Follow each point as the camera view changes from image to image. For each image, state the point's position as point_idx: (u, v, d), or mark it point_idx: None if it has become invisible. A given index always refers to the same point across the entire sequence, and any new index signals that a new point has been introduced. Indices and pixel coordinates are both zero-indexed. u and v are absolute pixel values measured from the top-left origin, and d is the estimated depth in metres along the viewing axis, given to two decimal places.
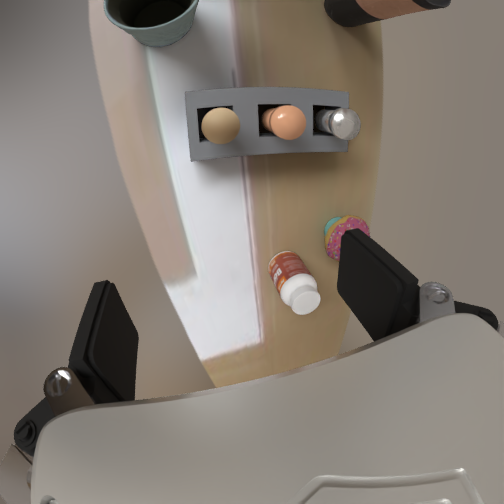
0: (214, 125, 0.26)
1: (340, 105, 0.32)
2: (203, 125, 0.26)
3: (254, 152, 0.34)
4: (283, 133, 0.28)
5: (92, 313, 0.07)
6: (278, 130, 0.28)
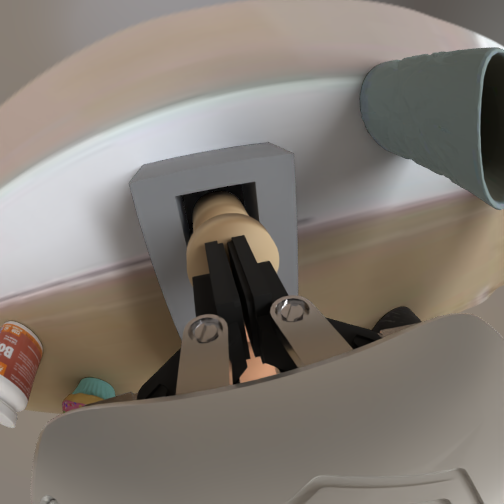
0: None
1: None
2: (233, 227, 0.11)
3: (170, 302, 0.17)
4: None
5: (220, 265, 0.09)
6: None
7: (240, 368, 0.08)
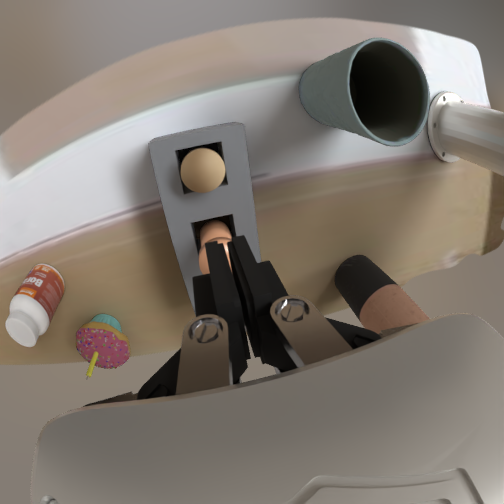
0: (203, 163, 0.23)
1: None
2: (202, 151, 0.22)
3: (169, 221, 0.27)
4: (206, 259, 0.24)
5: (220, 265, 0.09)
6: None
7: (241, 368, 0.08)
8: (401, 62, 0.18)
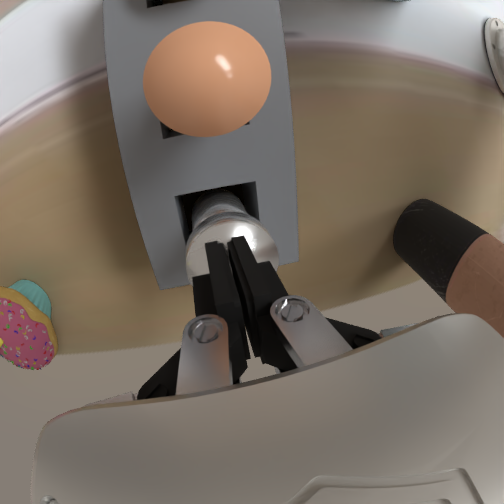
0: None
1: None
2: None
3: (111, 57, 0.09)
4: (165, 63, 0.06)
5: (220, 265, 0.09)
6: (175, 44, 0.06)
7: (240, 368, 0.08)
8: None
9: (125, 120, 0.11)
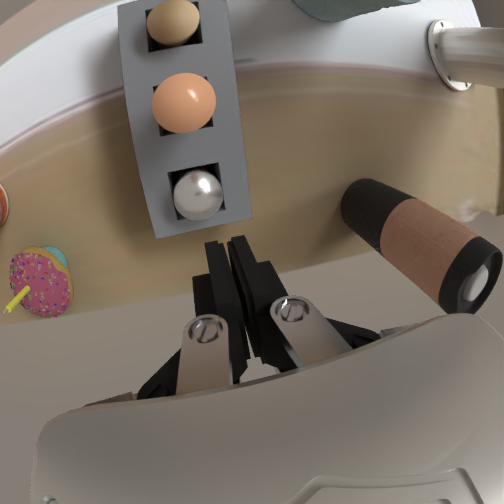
0: (174, 11, 0.13)
1: (227, 208, 0.24)
2: (174, 0, 0.13)
3: (127, 85, 0.17)
4: (162, 96, 0.14)
5: (220, 265, 0.09)
6: (167, 86, 0.14)
7: (240, 368, 0.08)
8: None
9: (137, 125, 0.19)
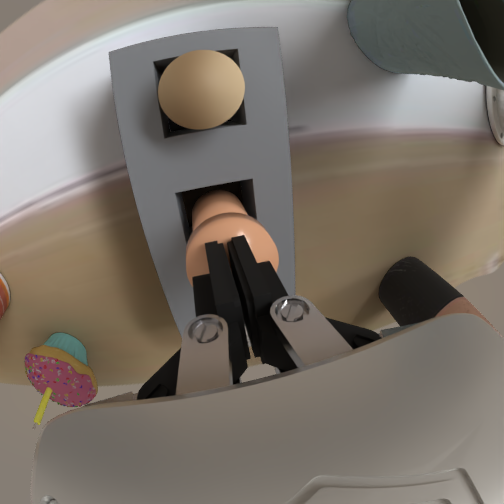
0: (202, 74, 0.10)
1: None
2: (202, 52, 0.10)
3: (137, 189, 0.14)
4: (201, 259, 0.11)
5: (220, 265, 0.09)
6: None
7: (240, 368, 0.08)
8: None
9: (158, 245, 0.16)
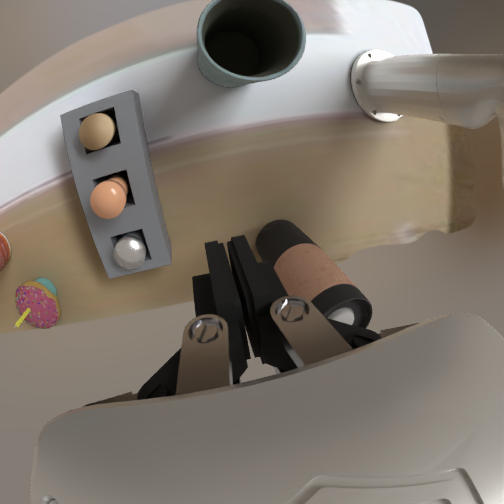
0: (95, 125, 0.23)
1: (153, 258, 0.33)
2: (94, 115, 0.22)
3: (76, 179, 0.26)
4: (95, 198, 0.25)
5: (220, 265, 0.09)
6: (96, 191, 0.24)
7: (240, 368, 0.08)
8: (274, 8, 0.18)
9: (86, 206, 0.28)
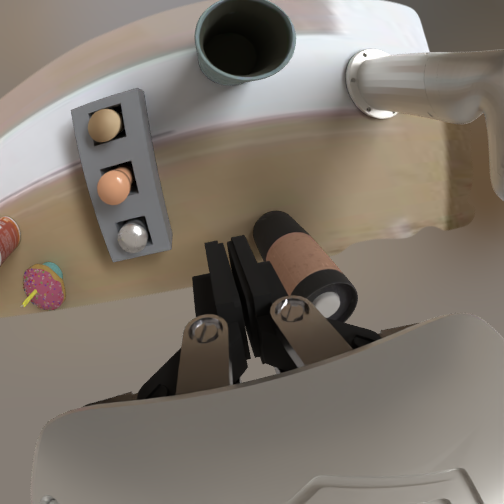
0: (103, 119, 0.25)
1: (154, 243, 0.36)
2: (102, 110, 0.24)
3: (84, 169, 0.28)
4: (102, 185, 0.27)
5: (220, 265, 0.09)
6: (103, 180, 0.27)
7: (240, 368, 0.08)
8: (267, 12, 0.20)
9: (93, 194, 0.30)
